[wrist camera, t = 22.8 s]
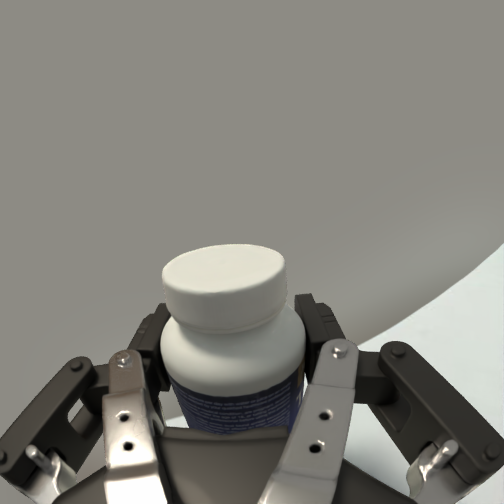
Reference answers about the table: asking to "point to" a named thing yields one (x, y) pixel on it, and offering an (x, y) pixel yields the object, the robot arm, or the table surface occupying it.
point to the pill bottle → (233, 339)
